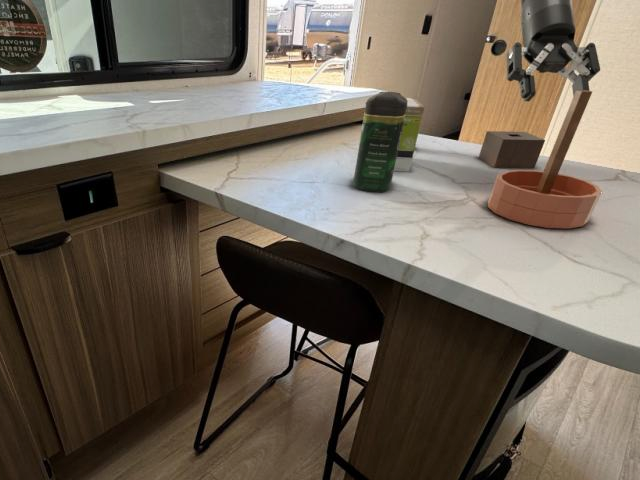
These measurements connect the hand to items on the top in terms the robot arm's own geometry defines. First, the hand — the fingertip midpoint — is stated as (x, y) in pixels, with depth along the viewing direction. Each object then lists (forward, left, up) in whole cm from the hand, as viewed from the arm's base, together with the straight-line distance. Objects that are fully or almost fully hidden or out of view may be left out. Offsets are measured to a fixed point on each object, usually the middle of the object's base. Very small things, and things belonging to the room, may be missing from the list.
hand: (555, 98), depth 72 cm
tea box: (+20, -26, -19) cm, 38 cm away
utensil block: (-10, -28, -19) cm, 35 cm away
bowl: (0, +7, -19) cm, 20 cm away
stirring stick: (0, +7, -18) cm, 19 cm away
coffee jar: (+27, -7, -19) cm, 34 cm away
